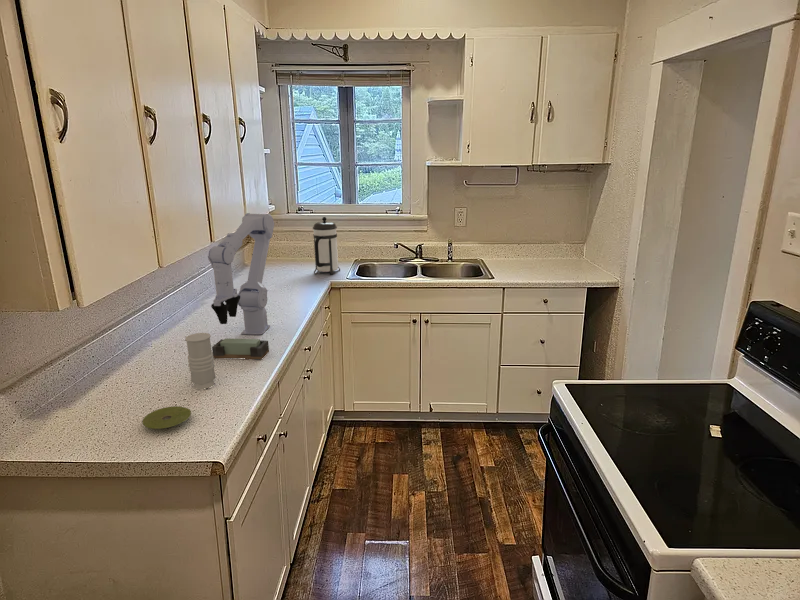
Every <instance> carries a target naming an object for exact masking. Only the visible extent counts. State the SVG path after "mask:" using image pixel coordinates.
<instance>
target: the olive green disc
mask: <svg viewBox="0 0 800 600" xmlns="http://www.w3.org/2000/svg"><path fill="white" fill-rule="evenodd" d="M191 415H192V412H191V410H190V409H189V408H188V407H185V406H178V405H177V406H176V405H174V406H166V407H162V408H158V409H156V410H153V411H151V412H150V413H148V414H146V416H144V418H143V419H142V425H143V426H144V427H145V428H148V429H153V430H160V429H166V428H167V429H168V428H171V427H175V426H178V425H179V424H182V423H184V422H185V421H187V420H188V419H189V418H190V417H191Z"/></svg>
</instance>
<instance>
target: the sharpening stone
mask: <svg viewBox="0 0 800 600" xmlns="http://www.w3.org/2000/svg"><path fill="white" fill-rule="evenodd" d="M260 340H261V339H260V338H259V339H258V338H227V337H225V338H224V339H223V341H222V342H220V346H224V352H225V354H237V355H251V354H250V347H259V346H260Z"/></svg>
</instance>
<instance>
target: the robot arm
mask: <svg viewBox="0 0 800 600" xmlns="http://www.w3.org/2000/svg"><path fill="white" fill-rule="evenodd" d="M274 221H275V220H274V217H273V215H272V214H270V213H250V212H249V213H248V212H247V213H245V214H244V216H242V219H241V223H240V224H239V226H238V228H237V229H236V230H235V231H234V232H231V233H230V232H229V233H227V234H226V236H225V237H224V238H223V239H222V240H221V241H220V243H219V244H218V245H214V246H211V248H210V249H209V251H208V255H207V258H208V261H209V262H210V266H211V269H212V270H213V276H214V277H213V278H214V284H215V292H216V294H215V296H214V297H215V298H214V299H213V300H212V302H213V303H212V304H211V305H210V306H211V309H212V310H213V311H214V313H215V315H216V317H217V319H218V321H219V324H220V325H226V324H228V316H229V317H231V318H236V317H237V313H238V307H240V310H242V313H243V322H244V330H243V331H242V332H240V334H241V335H257V336H258V335H259V336H260V335H263V334H264V333H265V332H266V331H267V330H268V329H269V328H270V327H271V324H270V325H269V324H268V314H267V309H266V306H267V304H268V289H267V288H266V286H265V285H263V279H264V274H265V267H266V263H267V258H268V257H267V256H268V251H269V246H270V242H271V241H270V240H271V239H272V238H273V233H274V228H275V222H274ZM248 235H249V236H250V238H252V239H253V240H254V244H253V250H252V255H251V260H250V266H249V271H248V275H247V276H248V277H247V281H246V282H245V283H243V284H241V285H240V288H239V291H238V289H237V288H234V280H233V279H234V278H233V270H232V269H233V268H232V263H234V258H235V256H236V252H237V251H238V250H239V249H241V247H242V246H243V240H244V239H245V238H246V237H247V236H248ZM224 302H225V303H224Z"/></svg>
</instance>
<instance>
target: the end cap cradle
mask: <svg viewBox="0 0 800 600" xmlns="http://www.w3.org/2000/svg"><path fill="white" fill-rule="evenodd" d="M223 340H224V339H220V340H218V342H216V343H215V344H214V345H213V346H211V351H212V353H213V358H245V359H244V360H249V359H262V358H263V357H264V356H265V355H266V354H267V353H268V354H269V352H270V348H269V340H262V339H260V346H259V347H250V354H251V355H237V354H225V352H224V346H220V342H222V341H223ZM268 354H267V355H268ZM267 355H266V356H267ZM266 356H265V357H266ZM265 357H264V358H265ZM264 358H263V359H264ZM263 359H262V360H263Z"/></svg>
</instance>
